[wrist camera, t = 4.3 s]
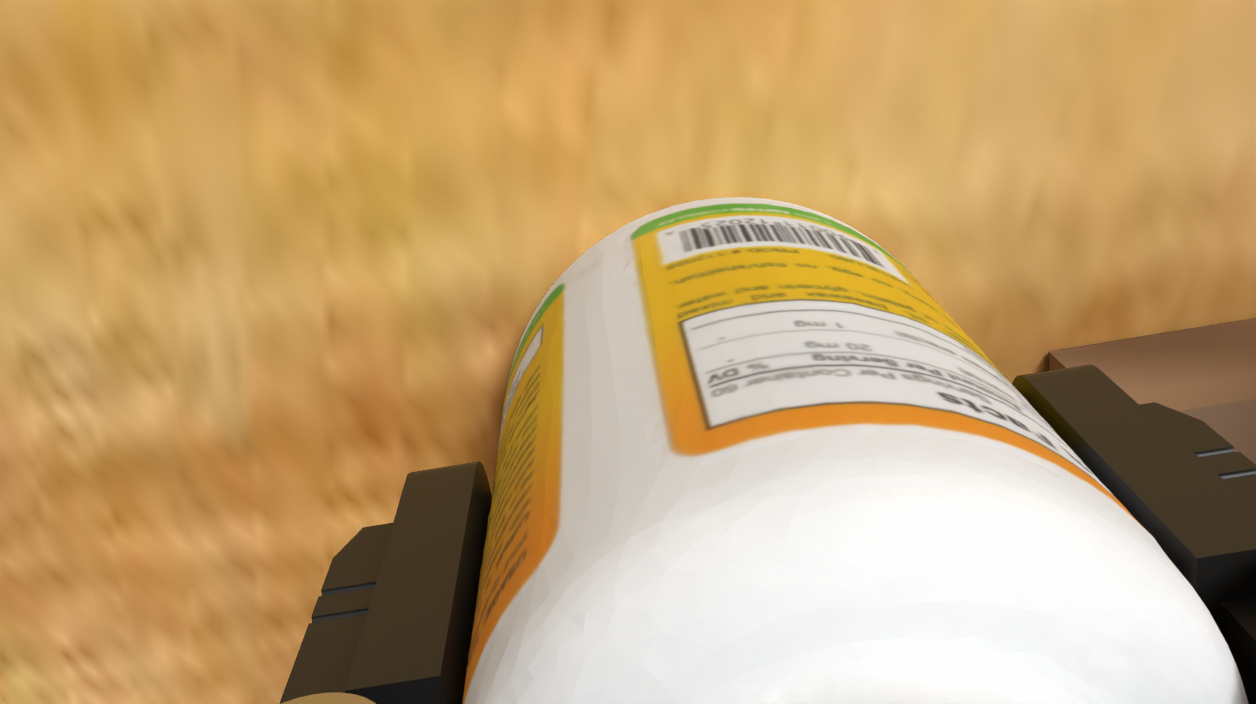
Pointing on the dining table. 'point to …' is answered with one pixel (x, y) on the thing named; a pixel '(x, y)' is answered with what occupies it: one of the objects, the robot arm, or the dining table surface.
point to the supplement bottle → (802, 496)
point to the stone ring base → (1185, 374)
